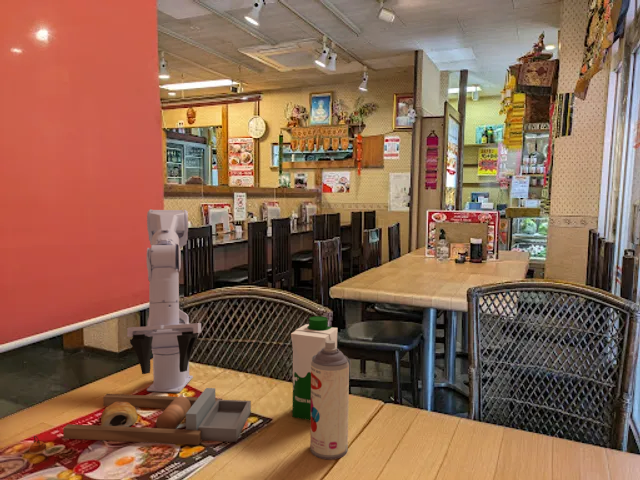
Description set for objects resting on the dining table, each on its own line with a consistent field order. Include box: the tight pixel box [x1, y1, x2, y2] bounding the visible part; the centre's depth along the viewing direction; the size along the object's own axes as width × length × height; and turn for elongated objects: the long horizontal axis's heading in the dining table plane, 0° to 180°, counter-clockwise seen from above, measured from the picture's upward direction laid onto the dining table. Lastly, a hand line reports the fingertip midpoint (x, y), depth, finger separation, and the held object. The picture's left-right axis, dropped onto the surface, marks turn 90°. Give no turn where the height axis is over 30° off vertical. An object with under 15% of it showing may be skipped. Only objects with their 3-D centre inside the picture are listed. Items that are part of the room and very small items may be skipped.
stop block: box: [185, 387, 216, 430], centre depth 93 cm, size 12×2×5 cm, turn 176°
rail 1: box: [102, 393, 223, 409], centre depth 101 cm, size 2×26×2 cm, turn 86°
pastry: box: [100, 402, 138, 427], centre depth 95 cm, size 9×7×4 cm
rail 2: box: [62, 423, 202, 446], centre depth 87 cm, size 2×26×2 cm, turn 86°
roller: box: [155, 395, 191, 429], centre depth 94 cm, size 8×4×4 cm, turn 176°
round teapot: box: [28, 435, 47, 455], centre depth 83 cm, size 3×3×3 cm
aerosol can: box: [309, 340, 350, 460], centre depth 84 cm, size 7×7×20 cm
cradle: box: [198, 399, 252, 443], centre depth 93 cm, size 12×7×2 cm, turn 176°
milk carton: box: [290, 315, 338, 421], centre depth 98 cm, size 9×9×20 cm
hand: (164, 372), depth 92 cm, fingers open, 7 cm apart
